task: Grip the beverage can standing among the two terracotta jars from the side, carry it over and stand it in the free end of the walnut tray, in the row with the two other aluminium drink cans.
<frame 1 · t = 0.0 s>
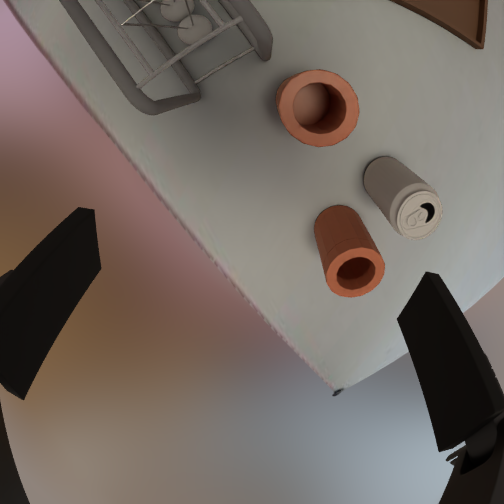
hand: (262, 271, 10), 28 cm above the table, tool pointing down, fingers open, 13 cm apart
jar a: (337, 227, 40), on the table
jar b: (304, 100, 31), on the table
beverage can: (382, 176, 36), on the table
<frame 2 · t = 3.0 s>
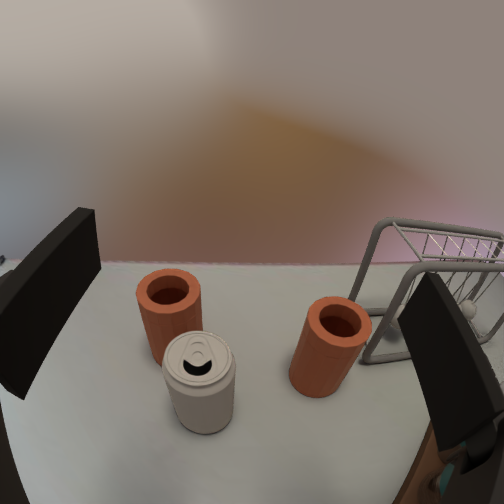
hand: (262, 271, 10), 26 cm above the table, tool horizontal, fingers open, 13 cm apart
jar a: (177, 349, 36), on the table
newton's cradle: (425, 331, 41), on the table
jar b: (315, 374, 35), on the table
tray can 2: (436, 491, 19), resting on can tray
beverage can: (204, 412, 29), on the table
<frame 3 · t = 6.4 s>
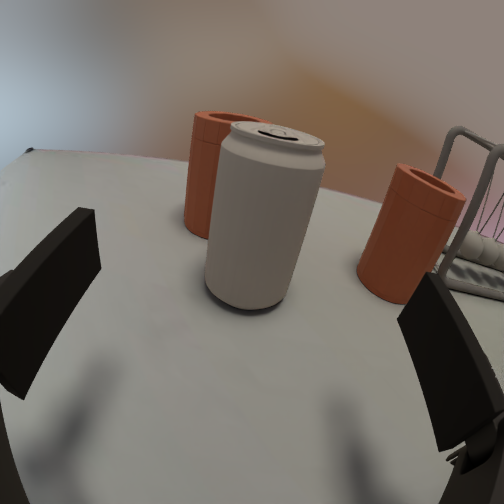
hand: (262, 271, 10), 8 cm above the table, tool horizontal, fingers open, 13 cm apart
jar a: (217, 222, 30), on the table
newton's cradle: (488, 281, 32), on the table
jar b: (387, 280, 27), on the table
beverage can: (244, 288, 23), on the table
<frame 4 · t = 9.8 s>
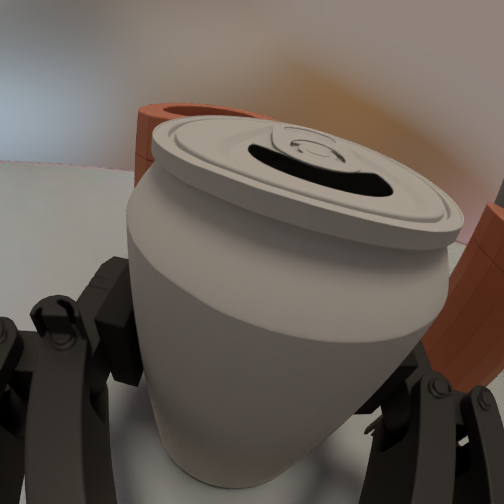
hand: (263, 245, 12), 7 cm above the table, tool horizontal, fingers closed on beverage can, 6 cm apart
jar a: (191, 285, 19), on the table
jar b: (440, 368, 16), on the table
beverage can: (229, 428, 11), on the table, touching gripper
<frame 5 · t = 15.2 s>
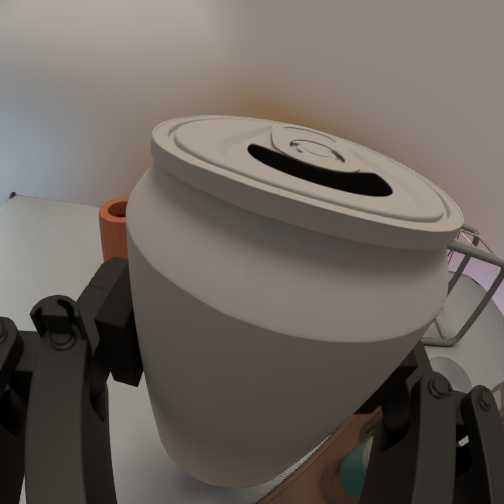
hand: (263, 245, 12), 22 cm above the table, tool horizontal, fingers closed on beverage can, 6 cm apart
jar a: (129, 275, 40), on the table
newton's cradle: (380, 318, 43), on the table
can tray: (333, 497, 19), on the table
tray can 2: (347, 483, 20), resting on can tray
tray can 1: (381, 439, 25), resting on can tray
beverage can: (229, 428, 11), point 15 cm above the table, touching gripper
when the fingers open (7 cm above the table, at t = 20.8 s): beverage can stays where it is, resting on can tray.
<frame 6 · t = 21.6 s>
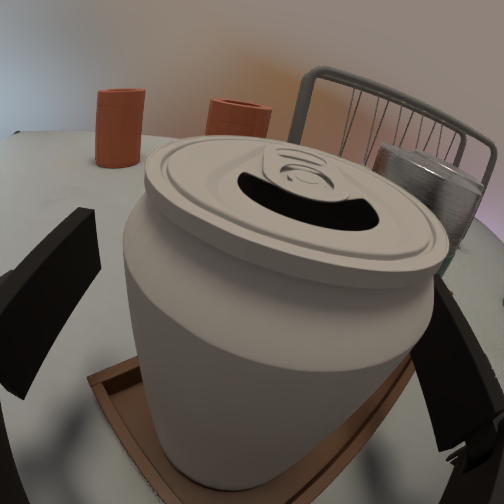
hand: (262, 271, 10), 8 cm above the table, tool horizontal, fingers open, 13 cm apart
jar a: (117, 160, 39), on the table
newton's cradle: (373, 210, 41), on the table
can tray: (335, 349, 17), on the table
jar b: (226, 189, 36), on the table
tray can 2: (353, 332, 19), resting on can tray
tray can 1: (390, 294, 23), resting on can tray
beverage can: (226, 432, 12), resting on can tray
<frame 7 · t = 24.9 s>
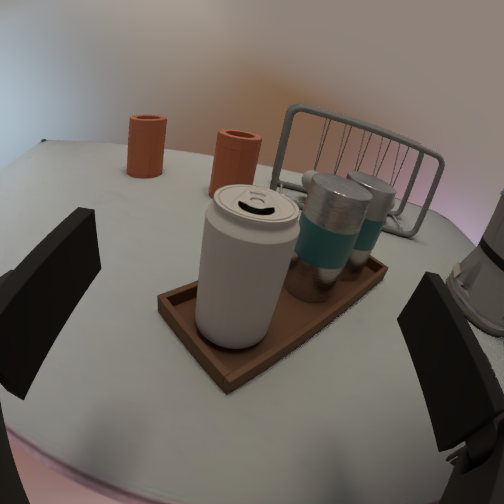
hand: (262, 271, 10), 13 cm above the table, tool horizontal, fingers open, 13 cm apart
jar a: (144, 171, 53), on the table
newton's cradle: (342, 210, 55), on the table
can tray: (295, 293, 31), on the table
jar b: (229, 195, 49), on the table
tray can 2: (307, 284, 32), resting on can tray
tray can 1: (339, 266, 37), resting on can tray
beverage can: (230, 326, 25), resting on can tray
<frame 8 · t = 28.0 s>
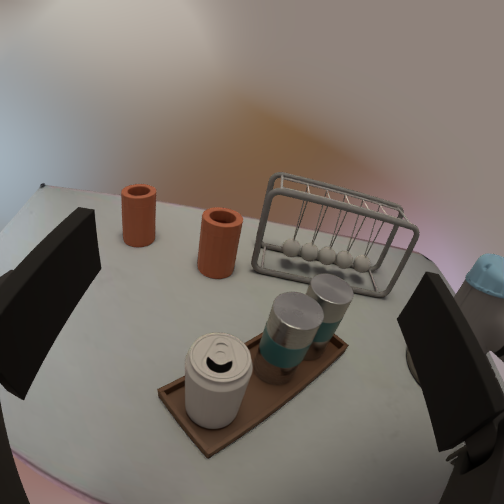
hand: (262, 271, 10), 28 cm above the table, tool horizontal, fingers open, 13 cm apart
jar a: (139, 238, 59), on the table
newton's cradle: (320, 272, 61), on the table
can tray: (263, 376, 38), on the table
jar b: (215, 267, 56), on the table
tray can 2: (274, 367, 39), resting on can tray
tray can 1: (305, 345, 43), resting on can tray
beverage can: (211, 408, 32), resting on can tray
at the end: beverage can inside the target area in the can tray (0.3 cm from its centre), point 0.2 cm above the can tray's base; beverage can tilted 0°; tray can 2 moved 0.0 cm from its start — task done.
